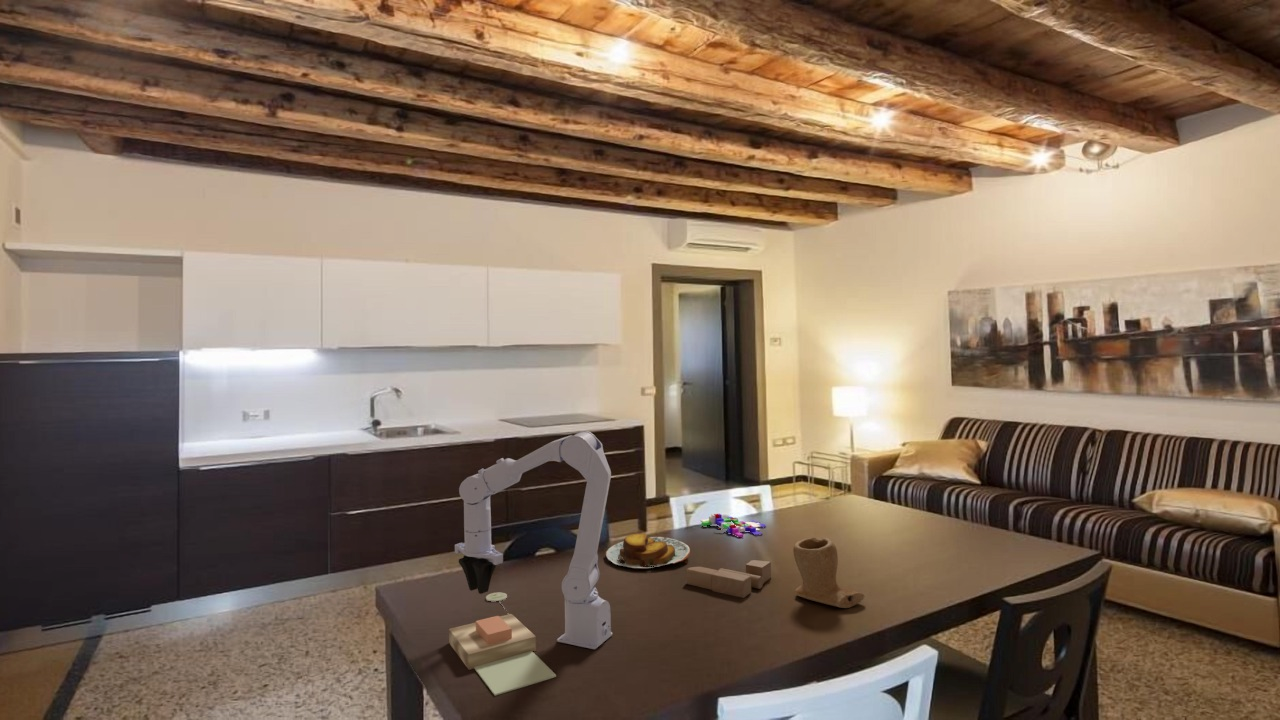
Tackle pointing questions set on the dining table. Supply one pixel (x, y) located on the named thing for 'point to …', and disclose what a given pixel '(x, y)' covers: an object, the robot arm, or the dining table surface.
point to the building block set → (732, 528)
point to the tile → (493, 630)
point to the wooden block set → (730, 578)
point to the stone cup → (821, 574)
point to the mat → (514, 672)
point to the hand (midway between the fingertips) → (478, 590)
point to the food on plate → (648, 551)
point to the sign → (496, 597)
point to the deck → (480, 652)
